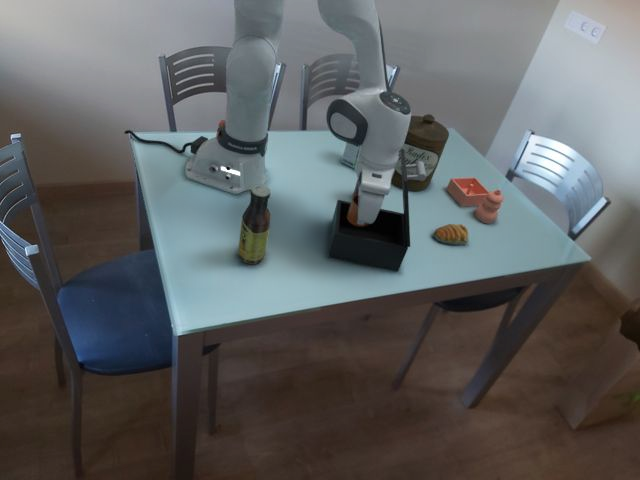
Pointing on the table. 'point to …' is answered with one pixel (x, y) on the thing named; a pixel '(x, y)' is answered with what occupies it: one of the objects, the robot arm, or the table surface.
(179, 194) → the table surface
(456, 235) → the pastry
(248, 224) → the sauce bottle
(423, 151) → the wooden container
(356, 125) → the robot arm
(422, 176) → the black bin lid
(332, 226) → the black storage bin
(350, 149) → the syrup box
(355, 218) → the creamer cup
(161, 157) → the table surface
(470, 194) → the pottery
